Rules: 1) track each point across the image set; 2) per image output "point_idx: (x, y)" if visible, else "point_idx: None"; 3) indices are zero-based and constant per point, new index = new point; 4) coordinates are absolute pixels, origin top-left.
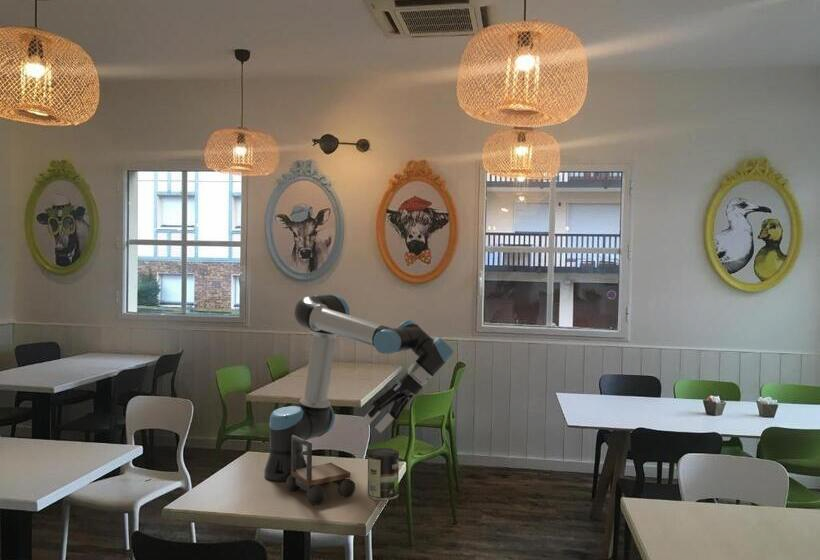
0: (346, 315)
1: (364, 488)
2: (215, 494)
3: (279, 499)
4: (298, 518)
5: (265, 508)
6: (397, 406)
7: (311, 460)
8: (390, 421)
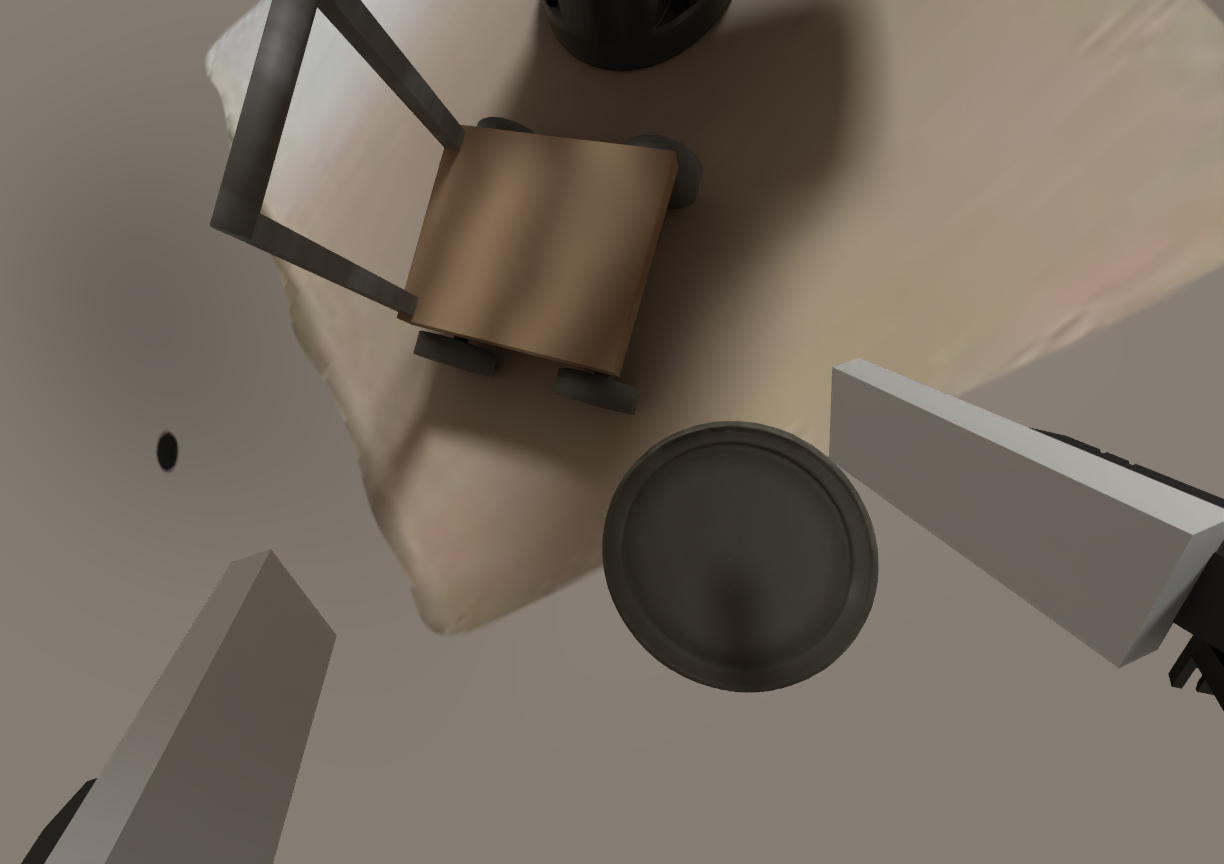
0: None
1: (743, 381)
2: None
3: None
4: (351, 425)
5: None
6: None
7: (334, 279)
8: (1023, 595)
